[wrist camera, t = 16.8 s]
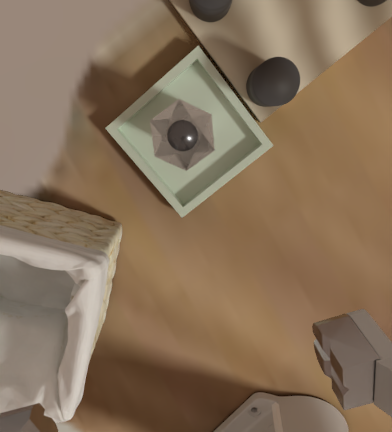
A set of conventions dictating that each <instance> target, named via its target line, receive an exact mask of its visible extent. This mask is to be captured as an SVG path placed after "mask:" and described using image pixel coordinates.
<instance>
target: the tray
mask: <svg viewBox="0 0 392 432" xmlns="http://www.w3.org/2000/svg"><path fill="white" fill-rule="evenodd" d="M178 99H180V100H182V101H184V102H186V103H189V104H191V105H193V106H195V107H197V108H199V109H201V110H203V111H205V112H208V113H210V114H212V124H213V137H214V149H215V151H213V152H212V153H211V154H209V155H208V156H206V157H205V158H204V159H202V160H201V161H199V162H198V163H197V164H195V165H194V166H192V167H191V168H190V169H188V170H187V171H185V170H183V169H181V168H179V167H177V166H174V165H172V164H170V163H168V162H166V161H163V160H161V159H159V158H157V157H155V156H154V148H153V141H152V133H151V125H150V120H152V119H153V118H154V117H155V116H157V115H158V114H159V113H161V112H162V111H163V110H165V109H166V108H167V107H169V106H170V105H171V104H173V103H174V102H175V101H177V100H178ZM105 129H106V130H107V131H108V132H109V133H110V135H111V136H112V137H113V138H114V139H115V140H116V142H117V143H118V144H119V145H120V146H121V147H122V149H123V150H124V151H125V152H126V153H127V154H128V156H129V157H130V158H131V159H132V160H133V161H134V162H135V164H136V165H137V166H138V167H139V168H140V169H141V171H142V172H143V173H144V174H145V175H146V176H147V178H148V179H149V180H150V181H151V182H152V183H153V185H154V186H155V187H156V188H157V189H158V190H159V192H160V193H161V194H162V195H163V196H164V197H165V198H166V200H167V201H168V202H169V203H170V204H171V205H172V207H173V208H174V209H175V210H176V211H177V212H178V214H179V215H180V216H181V217H184V216H185V215H186V214H188V213H189V212H190V211H191V210H193V209H194V208H195V207H196V206H198V205H199V204H200V203H201V202H203V201H204V200H205V199H207V198H208V197H209V196H210V195H212V194H213V193H214V192H215V191H217V190H218V189H219V188H220V187H222V186H223V185H224V184H226V183H227V182H228V181H229V180H231V179H232V178H233V177H234V176H236V175H237V174H238V173H239V172H241V171H242V170H243V169H245V168H246V167H247V166H248V165H250V164H251V163H252V162H253V161H255V160H256V159H257V158H258V157H260V156H261V155H262V154H264V153H265V152H266V151H267V150H269V149H270V148H271V147H272V146H273V144H272V143H271V142H270V140H269V139H268V138H267V136H266V135H265V134H264V132H263V131H262V130H261V128H260V127H259V126H258V124H257V123H256V122H255V120H254V119H253V118H252V116H251V115H250V114H249V112H248V111H247V110H246V108H245V107H244V106H243V104H242V103H241V102H240V100H239V99H238V98H237V96H236V95H235V94H234V92H233V91H232V90H231V88H230V87H229V86H228V84H227V83H226V82H225V80H224V79H223V78H222V76H221V75H220V74H219V72H218V71H217V70H216V68H215V67H214V66H213V64H212V63H211V62H210V60H209V59H208V58H207V56H206V55H205V54H204V52H203V51H202V50H201V48H200V47H199V45H198V46H197V47H196V48H195V49H194V50H193V51H191V52H190V53H189V54H188V55H187V56H186V57H185V58H184V59H182V60H181V61H180V62H179V63H178V64H177V65H176V66H175V67H173V68H172V69H171V70H170V71H169V72H168V73H167V74H166V75H164V76H163V77H162V78H161V79H160V80H159V81H158V82H157V83H155V84H154V85H153V86H152V87H151V88H150V89H149V90H148V91H146V92H145V93H144V94H143V95H142V96H141V97H140V98H139V99H137V100H136V101H135V102H134V103H133V104H132V105H131V106H130V107H129V108H127V109H126V110H125V111H124V112H123V113H122V114H121V115H120V116H118V117H117V118H116V119H115V120H114V121H113V122H112V123H111V124H109V125H108V126H107V127H106V128H105Z"/></svg>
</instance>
